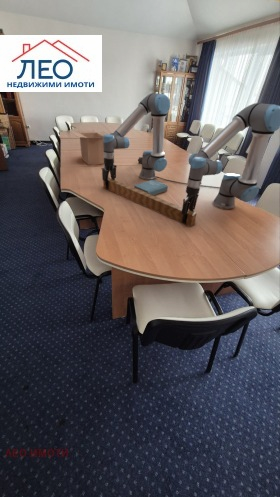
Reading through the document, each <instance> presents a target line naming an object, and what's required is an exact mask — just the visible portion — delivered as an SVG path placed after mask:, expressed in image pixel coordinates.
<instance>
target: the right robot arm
mask: <svg viewBox="0 0 280 497" xmlns="http://www.w3.org/2000/svg"><path fill="white" fill-rule="evenodd" d="M247 128H252V129H251V134H252V138H251V142H250V146H249V149H248V153H247V156H246V160H245V163H244V167H243V170H242V174H238V173H232V172H231V173H225V174H223V176H222V179H221V183H220V186H219V187H220V188H218V189H219V190H218V194H216V196H215V198H214V199H213V201H212V205H213V206H215V207H216V208H218V209H222V210H232V209H234V208H235V202H236V198H237V199H239V200H240V201H242V202H244V203H248V202H251V201H253V200H254V199H255V198H256V197H257V196H258V194H259V192H260V187H259V186H258V182H259V181H258V179H257V177H258V174H259V170H260V168H261V165H262V161H263V159H264V155H265V152H266V149H267V147H268V144H269V141H270V138H271V137H272V136H273V135H274V134H275V132H276V131H278V130H279V129H280V105H278V104H273V103H272V104H271V103H261V102H254V103H252V104H250V105H248V106H246V107H244V108H243V109H241V110H240V111H239V112H237V113H236V114H235V115H234V116H233V117H232V119H231V121H230V122H229V123H228V124H227V125H226V126H225V127H224V128H223V129H222V130H221V131H220V132H218V133H217V134H216V135H215V136H214V137H213V138H212V139H211V140H210V141H209V142H208V143H207V144H206V145H205V146H204V147H203V148H201V150H200V151H199V152H193V153H192V154H191V155H190V156H189V157H188V164H189V165H190V166H189V172H188V178H187V182H186V183H187V184H186V187H185V188H186V189H185V193H186V197H185V198H183V199H182V202H183V203H182V206H181V207H182V212H181V214H183V218H182V223H181V224H183V225H186V221H187V216H188V215H187V213H188V210H190V211H192V212H195V209H196V207H197V201H198V198H199V193H200V190H201V188H200V187H201V186H200V185H202V180H203V177H204V176H216V175H219V174H221V173H222V171H223V169H224V168H223V165H224V164H223V162H222V161H221V160H218V159H214V160H213V159H212V158H213V157H214V156H215V155H217V153H218V152H219V151H220V150H221V149H223V148H224V147H225V146H226V145H227V144H228V143H229V142H230V141H231V140H232V139H233V138H235V136H237V135H238V133H240V132H243V131H245V130H246V129H247Z"/></svg>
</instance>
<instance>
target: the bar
mask: <svg viewBox="0 0 280 497" xmlns="http://www.w3.org/2000/svg"><path fill="white" fill-rule="evenodd" d="M102 183H103V184H102V186H103V188H104V189H105V190H108V191H111V192H112V193H115V194H117V195H119V196H121V197H123V198H126V199H128V200H129V201H132V202H134V203H137V204H140V205H141V206H142V207H143V206H144V207H145V208H148V209H150V210H152V211H155V212H157V213H159V214H161V215H164V216H166V217H167V218H170V219H172V220H175V221H177V222H179V223H181V224H183V223H182V218H183V214H181V212H182V207H183V206H180V205H177V204H175V203H173V202H171V201H170V202H169V201H167V200H165V199H163V198H160V197H157V196H156V195H150V194H148V193H145V192H143V191H140V190H138V189H136V188H134V186H130V185H128V184H125V183H124V182H121V181H118V180H116V179H115V180H113V179H111V177H108V184H109V189H106V185H105V181H103V180H102ZM197 214H198V213H197V212H195V211H194V212H192V211H190V210H188V213H187V215H188V216H187V221H186V224H185V225H186V226H188V227H190V228H191V227H193V226H194V225H195V222H196V218H197Z"/></svg>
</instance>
